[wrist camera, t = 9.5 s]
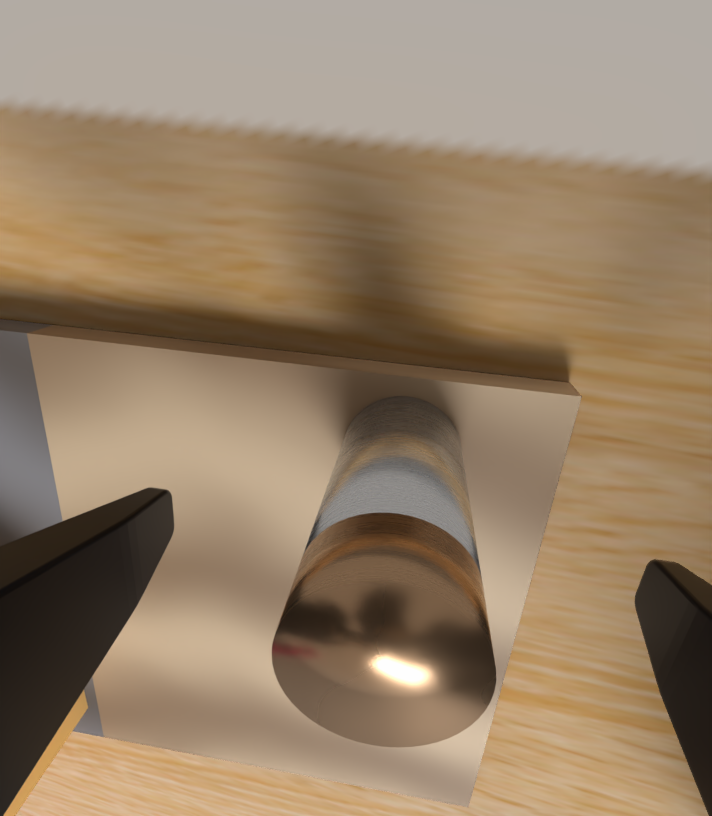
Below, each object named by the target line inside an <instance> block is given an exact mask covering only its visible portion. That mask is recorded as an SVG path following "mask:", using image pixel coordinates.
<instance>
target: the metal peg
mask: <svg viewBox="0 0 712 816" xmlns="http://www.w3.org/2000/svg"><path fill="white" fill-rule="evenodd" d="M271 654H272V665H273V669H274V673H275V676H276V678H277V680H278V683H279V685H280V687H281V688H282V690H283V692H284V693H285V695H286V696H287V697H288V699H289V700H290V701H291V702H292V704H293V705H294V706H295V707H296V708H297V709H298V710H299V711H300V712H302V713H303V714H304V715H305V716H307V717H308V718H309V719H310V720H312V721H313V722H315V723H316V724H318V725H319V726H321V727H323V728H325V729H327V730H329V731H330V732H332V733H335V734H337V735H339V736H342V737H344V738H347V739H350V740H353V741H356V742H360V743H365V744H369V745H375V746H382V747H415V746H423V745H428V744H432V743H437V742H439V741H442V740H445V739H448V738H450V737H452V736H455V735H457V734H459V733H460V732H462V731H464V730H465V729H467V728H468V727H470V726H471V725H472V724H473V723H474V722H475V721H477V720H478V719H479V718H480V716H481V715H482V714H483V713H484V712H485V710H486V709H487V707H488V705H489V704H490V702H491V699H492V697H493V694H494V691H495V686H496V666H495V659H494V653H493V647H492V640H491V634H490V627H489V621H488V615H487V608H486V602H485V596H484V589H483V583H482V576H481V570H480V564H479V557H478V551H477V545H476V538H475V532H474V525H473V519H472V513H471V506H470V500H469V494H468V487H467V481H466V474H465V468H464V462H463V455H462V449H461V443H460V438H459V435H458V432H457V430H456V428H455V426H454V424H453V422H452V421H451V420H450V418H449V417H448V416H447V415H446V414H445V413H444V412H443V411H442V410H440V409H439V408H438V407H436V406H435V405H433V404H431V403H429V402H427V401H425V400H422V399H419V398H415V397H409V396H392V397H387V398H383V399H380V400H377V401H375V402H373V403H371V404H369V405H368V406H366V407H364V408H363V409H362V410H361V411H360V412H359V413H358V414H357V415H356V416H355V417H354V418H353V420H352V421H351V423H350V425H349V427H348V429H347V431H346V434H345V437H344V440H343V443H342V446H341V448H340V451H339V454H338V457H337V460H336V463H335V465H334V468H333V471H332V474H331V477H330V480H329V482H328V485H327V488H326V491H325V494H324V497H323V499H322V502H321V505H320V508H319V511H318V514H317V516H316V519H315V522H314V525H313V528H312V531H311V533H310V536H309V539H308V542H307V545H306V548H305V550H304V553H303V556H302V559H301V562H300V565H299V567H298V570H297V573H296V576H295V579H294V582H293V584H292V587H291V590H290V593H289V596H288V599H287V601H286V604H285V607H284V610H283V613H282V616H281V618H280V621H279V624H278V627H277V630H276V633H275V636H274V639H273V643H272V653H271Z"/></svg>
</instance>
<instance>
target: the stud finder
mask: <svg viewBox="0 0 712 816" xmlns="http://www.w3.org/2000/svg"><path fill="white" fill-rule="evenodd" d="M87 709H88V705H87V701H86V696H85V692H84V690H83V692H82V694H81V695H80V697H79V698H78V700H77V701H76V703H75V704H74V706H73V708H72V709H71V711H70V712H69V714H68V715H67V717H66V719H65V720H64V722H63V723H62V725H61V726H60V728H59V730H58V731H57V733H56V734H55V736H54V737H53V739H52V741H51V742H50V744H49V745H48V747H47V748H46V750H45V752H44V753H43V755H42V756H41V758H40V759H39V761H38V762H37V764H36V766H35V767H34V769H33V770H32V772H31V773H30V775H29V777H28V778H27V780H26V781H25V783H24V784H23V786H22V788H21V789H20V791H19V792H18V794H17V795H16V797H15V799H14V800H13V802H12V803H11V805H10V806H9V808H8V810H7V811H6V813H5V814H4V816H15V815H16V814H17V812H18V811H19V809H20V808H21V806H22V805H23V803H24V802H25V800H26V799H27V798H28V796H29V795H30V793H31V792H32V790H33V789H34V787H35V786H36V784H37V783H38V781H39V780H40V778H41V777H42V775H43V774H44V772H45V771H46V769H47V768H48V766H49V765H50V763H51V762H52V761H53V759H54V758H55V756H56V755H57V753H58V752H59V750H60V749H61V747H62V746H63V744H64V743H65V741H66V740H67V738H68V737H69V735H70V734H71V732H72V731H73V729H74V728H75V727H76V725H77V724H78V722H79V721H80V719H81V718H82V716H83V715H84V713H85V712H86V710H87Z"/></svg>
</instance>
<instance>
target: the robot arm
mask: <svg viewBox="0 0 712 816" xmlns="http://www.w3.org/2000/svg"><path fill="white" fill-rule="evenodd" d="M173 532H174V513H173V501H172V495H171V492H170V491H169V490H167V489H160V488H153V487H148V488H145V489H143V490H140V491H138V492H135V493H133V494H130V495H128V496H125V497H123V498H120V499H118V500H115V501H113V502H110V503H107V504H105V505H102V506H100V507H97V508H95V509H92V510H90V511H87V512H85V513H82V514H80V515H77V516H75V517H72V518H69V519H67V520H64V521H62V522H59V523H57V524H54V525H52V526H49V527H47V528H44V529H42V530H39V531H37V532H34V533H31V534H29V535H26V536H24V537H21V538H19V539H16V540H14V541H11V542H9V543H6V544H4V545H1V546H0V816H4V814H5V813H6V811H7V810H8V808H9V806H10V805H11V803H12V802H13V800H14V799H15V797H16V795H17V794H18V792H19V791H20V789H21V788H22V786H23V784H24V783H25V781H26V780H27V778H28V777H29V775H30V773H31V772H32V770H33V769H34V767H35V766H36V764H37V762H38V761H39V759H40V758H41V756H42V755H43V753H44V752H45V750H46V748H47V747H48V745H49V744H50V742H51V741H52V739H53V737H54V736H55V734H56V733H57V731H58V730H59V728H60V726H61V725H62V723H63V722H64V720H65V719H66V717H67V715H68V714H69V712H70V711H71V709H72V708H73V706H74V704H75V703H76V701H77V700H78V698H79V697H80V695H81V694H82V692H83V690H84V689H85V687H86V686H87V684H88V683H89V681H90V679H91V678H92V676H93V675H94V673H95V672H96V670H97V668H98V667H99V665H100V664H101V662H102V661H103V659H104V657H105V656H106V654H107V653H108V651H109V650H110V648H111V646H112V645H113V643H114V642H115V640H116V639H117V637H118V635H119V634H120V632H121V631H122V629H123V628H124V626H125V625H126V623H127V621H128V620H129V618H130V617H131V615H132V613H133V612H134V610H135V608H136V607H137V605H138V603H139V601H140V600H141V598H142V596H143V594H144V592H145V590H146V588H147V586H148V584H149V582H150V580H151V578H152V576H153V574H154V572H155V570H156V568H157V566H158V564H159V562H160V560H161V558H162V556H163V554H164V552H165V550H166V548H167V546H168V544H169V542H170V540H171V538H172V535H173ZM635 607H636V611H637V615H638V618H639V622H640V625H641V629H642V632H643V636H644V639H645V643H646V647H647V650H648V654H649V657H650V661H651V664H652V668H653V671H654V675H655V678H656V681H657V684H658V688H659V691H660V693H661V696H662V699H663V701H664V704H665V707H666V709H667V712H668V714H669V717H670V719H671V722H672V724H673V727H674V729H675V732H676V734H677V737H678V739H679V742H680V744H681V747H682V749H683V752H684V754H685V757H686V759H687V762H688V765H689V767H690V770H691V772H692V775H693V777H694V780H695V782H696V785H697V787H698V790H699V792H700V795H701V797H702V800H703V802H704V805H705V807H706V810H707V812H708V815H709V816H712V585H710V584H709V583H707V582H706V581H704V580H703V579H701V578H700V577H698V576H697V575H695V574H694V573H692V572H691V571H689V570H688V569H686V568H685V567H683V566H682V565H680V564H678V563H676V562H670V561H663V560H656V559H654V560H651V561H650V562H649V563H648V564H647V566H646V569H645V571H644V574H643V576H642V579H641V582H640V584H639V587H638V589H637V592H636V595H635Z"/></svg>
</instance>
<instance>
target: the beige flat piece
mask: <svg viewBox="0 0 712 816" xmlns="http://www.w3.org/2000/svg"><path fill="white" fill-rule="evenodd" d="M392 396H409V397H415V398H419V399H422V400H425V401H427V402H429V403H431V404H433V405H435V406H436V407H438V408H439V409H440V410H442V411H443V412H444V413H445V414H446V415H447V416H448V417H449V418H450V420H451V421H452V422H453V424H454V426H455V428H456V430H457V432H458V435H459V438H460V443H461V449H462V455H463V462H464V468H465V474H466V481H467V487H468V494H469V500H470V506H471V513H472V519H473V525H474V532H475V538H476V545H477V551H478V557H479V564H480V570H481V576H482V583H483V589H484V596H485V602H486V608H487V615H488V621H489V627H490V634H491V640H492V647H493V653H494V659H495V666H496V686H495V691H494V694H493V697H492V699H491V702H490V704H489V705H488V707H487V709H486V710H485V712H484V713H483V714H482V715H481V716H480V718H479V719H478V720H477V721H475V722H474V723H473V724H472V725H471V726H470V727H468V728H467V729H465V730H464V731H462V732H460V733H459V734H457V735H455V736H452V737H450V738H448V739H445V740H442V741H439V742H437V743H432V744H428V745H423V746H415V747H382V746H375V745H369V744H365V743H360V742H356V741H353V740H350V739H347V738H344V737H342V736H339V735H337V734H335V733H332V732H330V731H329V730H327V729H325V728H323V727H321V726H319V725H318V724H316V723H315V722H313V721H312V720H310V719H309V718H308V717H307V716H305V715H304V714H303V713H302V712H300V711H299V710H298V709H297V708H296V707H295V706H294V705H293V704H292V702H291V701H290V700H289V699H288V697H287V696H286V695H285V693H284V692H283V690H282V688H281V687H280V685H279V683H278V680H277V678H276V676H275V673H274V669H273V665H272V654H271V653H272V643H273V639H274V636H275V633H276V630H277V627H278V624H279V621H280V618H281V616H282V613H283V610H284V607H285V604H286V601H287V599H288V596H289V593H290V590H291V587H292V584H293V582H294V579H295V576H296V573H297V570H298V567H299V565H300V562H301V559H302V556H303V553H304V550H305V548H306V545H307V542H308V539H309V536H310V533H311V531H312V528H313V525H314V522H315V519H316V516H317V514H318V511H319V508H320V505H321V502H322V499H323V497H324V494H325V491H326V488H327V485H328V482H329V480H330V477H331V474H332V471H333V468H334V465H335V463H336V460H337V457H338V454H339V451H340V448H341V446H342V443H343V440H344V437H345V434H346V431H347V429H348V427H349V425H350V423H351V421H352V420H353V418H354V417H355V416H356V415H357V414H358V413H359V412H360V411H361V410H362V409H363V408H364V407H366V406H368V405H369V404H371V403H373V402H375V401H377V400H380V399H383V398H387V397H392ZM581 398H582V396H581V395H580V394H579V393H578V392H577V390H576V389H575V388H574V387H573V386H572V385H571V383H568V382H559V381H550V380H541V379H532V378H523V377H515V376H506V375H497V374H488V373H479V372H470V371H461V370H452V369H443V368H434V367H425V366H416V365H407V364H398V363H389V362H380V361H371V360H362V359H354V358H345V357H336V356H327V355H318V354H309V353H300V352H291V351H282V350H273V349H264V348H255V347H246V346H237V345H228V344H219V343H210V342H201V341H193V340H184V339H175V338H166V337H157V336H148V335H139V334H130V333H121V332H112V331H103V330H94V329H85V328H76V327H67V326H58V325H49V324H40V323H32V322H23V321H14V320H5V319H0V546H1V545H4V544H6V543H9V542H11V541H14V540H16V539H19V538H21V537H24V536H26V535H29V534H31V533H34V532H37V531H39V530H42V529H44V528H47V527H49V526H52V525H54V524H57V523H59V522H62V521H64V520H67V519H69V518H72V517H75V516H77V515H80V514H82V513H85V512H87V511H90V510H92V509H95V508H97V507H100V506H102V505H105V504H107V503H110V502H113V501H115V500H118V499H120V498H123V497H125V496H128V495H130V494H133V493H135V492H138V491H140V490H143V489H145V488H148V487H153V488H160V489H167V490H169V491H170V492H171V495H172V501H173V513H174V532H173V535H172V538H171V540H170V542H169V544H168V546H167V548H166V550H165V552H164V554H163V556H162V558H161V560H160V562H159V564H158V566H157V568H156V570H155V572H154V574H153V576H152V578H151V580H150V582H149V584H148V586H147V588H146V590H145V592H144V594H143V596H142V598H141V600H140V601H139V603H138V605H137V607H136V608H135V610H134V612H133V613H132V615H131V617H130V618H129V620H128V621H127V623H126V625H125V626H124V628H123V629H122V631H121V632H120V634H119V635H118V637H117V639H116V640H115V642H114V643H113V645H112V646H111V648H110V650H109V651H108V653H107V654H106V656H105V657H104V659H103V661H102V662H101V664H100V665H99V667H98V668H97V670H96V672H95V673H94V675H93V676H92V678H91V679H90V681H89V683H88V684H87V686H86V687H85V689H84V692H85V696H86V701H87V705H88V709H87V710H86V712H85V713H84V715H83V716H82V718H81V719H80V721H79V722H78V724H77V725H76V727H75V728H74V729H73V731H75V732H80V733H85V734H90V735H96V736H101V737H106V738H111V739H116V740H121V741H127V742H132V743H137V744H142V745H147V746H153V747H158V748H163V749H168V750H173V751H178V752H184V753H189V754H194V755H199V756H204V757H210V758H215V759H220V760H225V761H230V762H236V763H241V764H246V765H251V766H256V767H261V768H267V769H272V770H277V771H282V772H287V773H293V774H298V775H303V776H308V777H313V778H318V779H324V780H329V781H334V782H339V783H344V784H350V785H355V786H360V787H365V788H370V789H376V790H381V791H386V792H391V793H396V794H401V795H407V796H412V797H417V798H422V799H427V800H433V801H438V802H443V803H448V804H453V805H459V806H464V807H469V803H470V799H471V796H472V792H473V789H474V785H475V781H476V778H477V774H478V770H479V767H480V763H481V760H482V756H483V752H484V749H485V745H486V741H487V738H488V734H489V731H490V727H491V723H492V720H493V716H494V713H495V709H496V705H497V702H498V698H499V694H500V691H501V687H502V684H503V680H504V676H505V673H506V669H507V665H508V662H509V658H510V655H511V651H512V647H513V644H514V640H515V637H516V633H517V629H518V626H519V622H520V618H521V615H522V611H523V608H524V604H525V600H526V597H527V593H528V589H529V586H530V582H531V579H532V575H533V571H534V568H535V564H536V561H537V557H538V553H539V550H540V546H541V542H542V539H543V535H544V532H545V528H546V524H547V521H548V517H549V513H550V510H551V506H552V503H553V499H554V495H555V492H556V488H557V484H558V481H559V477H560V474H561V470H562V466H563V463H564V459H565V456H566V452H567V448H568V445H569V441H570V437H571V434H572V430H573V427H574V423H575V419H576V416H577V412H578V408H579V405H580V401H581Z"/></svg>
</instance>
